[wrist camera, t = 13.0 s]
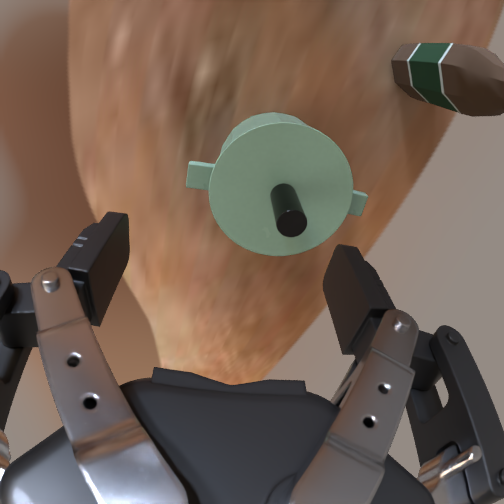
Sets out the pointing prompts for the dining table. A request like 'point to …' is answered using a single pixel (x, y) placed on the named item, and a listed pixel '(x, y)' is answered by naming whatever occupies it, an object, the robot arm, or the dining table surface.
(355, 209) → the pot
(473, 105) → the beer bottle
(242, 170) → the lid
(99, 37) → the dining table surface
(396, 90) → the dining table surface
